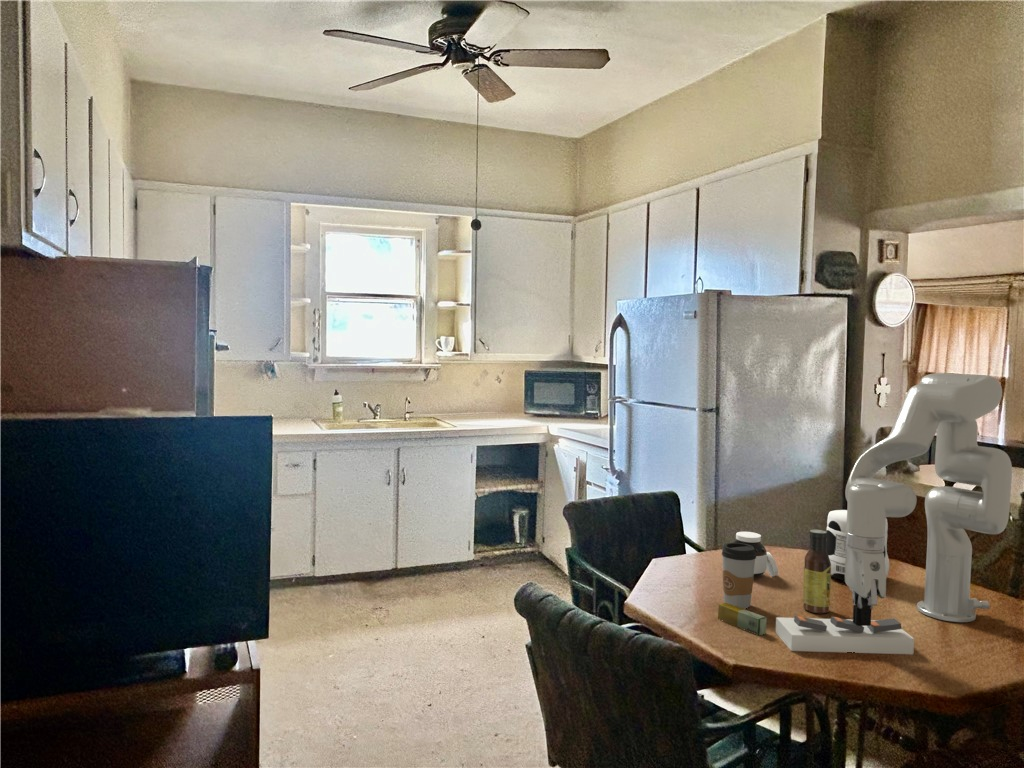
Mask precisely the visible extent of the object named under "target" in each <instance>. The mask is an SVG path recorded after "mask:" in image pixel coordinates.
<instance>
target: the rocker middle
mask: <svg viewBox="0 0 1024 768" xmlns="http://www.w3.org/2000/svg"><path fill="white" fill-rule="evenodd" d="M830 619H831V620H830V622H831V623H832V624H833V625H835V626H836V627H839V628H844V629H848V630H852V631H857V632H861V633H863V631H864V627H863V626H858V625H856V624H855V623H854V622H853V621H850V620H846V619H847V618H841V617H837V616H832V615H831V617H830Z"/></svg>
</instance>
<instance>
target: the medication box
mask: <svg viewBox="0 0 1024 768" xmlns="http://www.w3.org/2000/svg"><path fill="white" fill-rule="evenodd" d="M717 609H718V610H717V619H718V620H719V619H720V620H719V621H721V620H723V621H722V622H724V623H726V622H727V623H726V624H728V623H729V625H731V624H732V625H731V626H733V625H734V627H736V626H737V628H738V627H740V628H739V629H741V628H742V629H741V630H743V629H745V630H744V631H746V630H747V631H746V632H748V631H750V632H749V633H751V632H753V633H755V634H754V635H756V634H758V635H757V636H759V635H761V636H763V634H764V635H766V634H767V624H768V623H767V621H768V619H767V617H766V616H764V615H761V614H758V613H755V612H753V611H750V610H747V609H742V608H739V607H736V606H733V605H731V604H728V603H725V602H721V603H719V604H718V608H717ZM753 633H752V634H753ZM765 633H766V634H765Z"/></svg>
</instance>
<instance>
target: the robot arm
mask: <svg viewBox="0 0 1024 768" xmlns="http://www.w3.org/2000/svg"><path fill="white" fill-rule="evenodd" d="M1002 397H1003V388H1002V385H1001V383H1000V381H999V380H998V378H995V377H994V376H991V375H986V374H971V373H970V374H966V373H964V374H963V373H951V372H947V373H946V372H941V373H940V372H938V373H937V372H935V373H929V374H926V375H924V376H923V377H921V378H920V381H919V384H915V385H913V386H911V387H910V388H909V390H908V391H907V392H906V394H905V396H904V399H903V401H902V403H901V405H900V409H899V411H898V414H897V416H896V418H895V420H894V423H893V425H892V427H891V430H890V431H889V432H890V433H889V434H888V436H886V437H885V438H883V439H882V440H880V441H879V442H877V443H876V444H873V446H871V447H870V448H869V449H867V450H866V451H865V452H864V453H862V454H861V455H860V456H859V457H858V459H857V460H856V462H855V463H854V465H853V467H852V470H851V472H850V475H849V476H848V479H847V483H846V485H845V492H844V494H845V500H846V501H847V507H846V508H847V509H846V510H847V530H846V547H847V553H846V562H845V581H844V582H845V585H846V586H847V587H848V588H849V590H850V592H851V594H852V596H851V597H852V604H853V606H852V620H853V622H854V623H855V624H856V625H858V626H870V625H871V620H872V609H873V608H874V607H875V606H878V605H879V604H878V598H880V599H885V598H886V596H887V578H886V567H885V558H884V553H883V552H884V543H885V521H886V519H887V518H903V517H907V516H908V515H910V514H912V512H914V510H915V508H916V506H917V503H918V502H917V501H918V499H917V498H918V497H917V494H916V492H915V491H914V489H913V488H911V487H910V486H909V485H907V484H904V483H902V482H896V481H892V480H891V481H890V480H887V479H886V480H885V479H879V478H874V477H875V475H876V474H877V473H878V472H879V471H880V470H882V469H883V468H885V467H887V466H889V465H891V464H894V463H898V462H901V461H905V460H909V459H912V458H916V457H920V456H922V455H925V454H927V452H929V450H930V447H931V444H932V442H933V440H934V437H935V434H936V440H935V442H936V443H935V453H934V454H935V455H934V469H935V473H936V475H937V476H938V477H939V478H940V479H942V480H944V481H949V482H953V483H959V484H964V485H969V486H977V487H981V490H982V491H977V490H971V489H968V488H967V489H966V488H961V487H954V486H946V485H945V486H942V485H941V486H935V487H933V488H931V489H930V490H929V491H927V493H926V496H925V498H924V509H925V517H926V524H927V525H926V526H927V527H926V528H927V540H926V541H927V543H926V544H927V545H926V561H925V564H926V565H925V579H924V581H925V582H924V600H920V601H918V602H917V603H916V608H917V611H919V612H920V613H921V614H923V615H926V616H927V617H930V618H933V619H938V620H941V621H946V622H951V623H971V622H974V621H975V620H976V618H977V613H976V612H975V611H974V610H977V609H981V610H983V609H984V610H988V609H990V602H989V601H988V600H978V599H977V598H975V597H974V598H973V597H970V593H971V591H970V590H971V576H972V575H971V573H972V559H973V558H972V555H973V545H972V542H971V540H970V537H969V536H968V534H967V532H966V531H967V530H968V531H974V532H978V533H982V534H987V535H999V534H1001V533H1003V532H1004V531H1005V529H1006V528H1007V526H1008V522H1009V517H1010V508H1011V507H1010V505H1011V495H1012V494H1011V493H1012V483H1013V481H1012V480H1013V466H1012V461H1011V458H1010V456H1009V455H1008V453H1007V452H1006V451H1004V450H1002V449H999V448H996V447H990V446H989V447H988V446H982V445H981V446H980V445H978V427H979V425H978V423H977V420H978V419H980V418H981V417H984V416H986V415H987V414H990V413H992V412H993V411H994V410H995V409H996V408H997V407H998V406H999V404H1000V402H1001V401H1002Z"/></svg>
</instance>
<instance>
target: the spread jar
mask: <svg viewBox="0 0 1024 768" xmlns="http://www.w3.org/2000/svg"><path fill="white" fill-rule="evenodd" d="M761 541H762V535H761V534H760V533H756V532H752V531H738V532H736V534H735V539H734V540H733V542H732V543H743V544H748V545H751V546H753V547H754V551H755V552H756V559H755V565H754V578H753V579H758V578H760V577H761V576H763V575H764V574H765V573H766V571H767V572H768V574H769V575H770V576H771V577H775V576H776V577H777V576H778V575H779V568H778V565H777V562H776V560H775V558H774V556H773V555H772V554H771V553H770V552H769V551H767V549H766V547H765V546H764V544H763V542H761Z"/></svg>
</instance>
